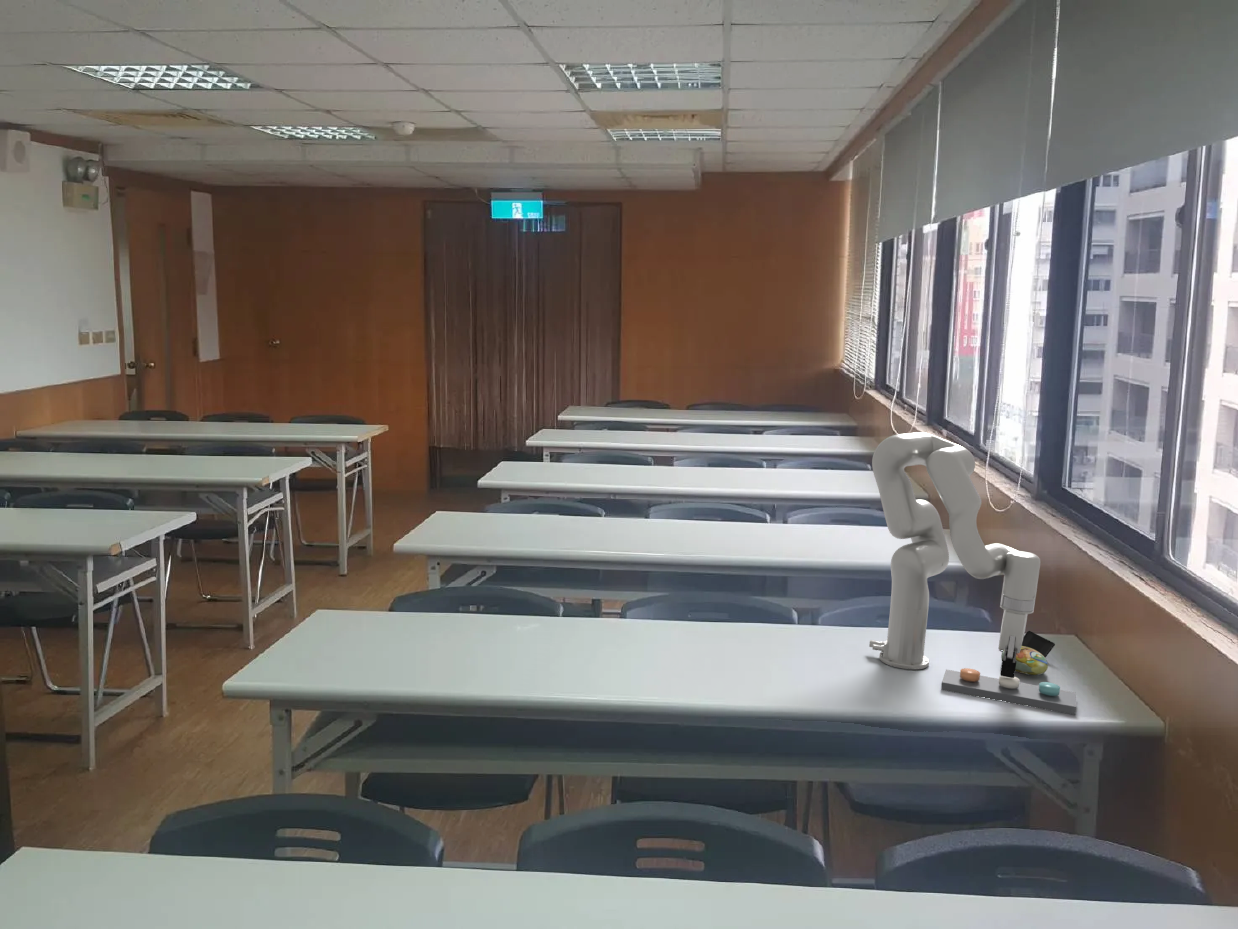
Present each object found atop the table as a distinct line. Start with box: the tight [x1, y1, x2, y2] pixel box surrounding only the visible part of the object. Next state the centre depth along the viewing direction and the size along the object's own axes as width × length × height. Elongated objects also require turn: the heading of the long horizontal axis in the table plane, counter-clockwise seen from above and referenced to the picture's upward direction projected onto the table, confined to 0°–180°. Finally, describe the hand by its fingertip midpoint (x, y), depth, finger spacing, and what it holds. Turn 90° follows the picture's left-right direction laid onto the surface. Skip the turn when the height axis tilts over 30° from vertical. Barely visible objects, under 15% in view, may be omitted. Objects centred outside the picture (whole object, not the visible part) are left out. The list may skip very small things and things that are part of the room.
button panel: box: [940, 668, 1077, 716], centre depth 245 cm, size 30×10×2 cm, turn 67°
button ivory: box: [998, 675, 1021, 689], centre depth 245 cm, size 5×5×2 cm
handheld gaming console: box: [1022, 630, 1056, 658], centre depth 274 cm, size 12×7×10 cm
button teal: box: [1038, 681, 1061, 696], centre depth 241 cm, size 5×5×2 cm
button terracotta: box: [959, 667, 981, 681], centre depth 248 cm, size 5×5×2 cm
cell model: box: [1000, 646, 1049, 676], centre depth 263 cm, size 11×8×15 cm
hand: (1007, 675), depth 245 cm, fingers closed
